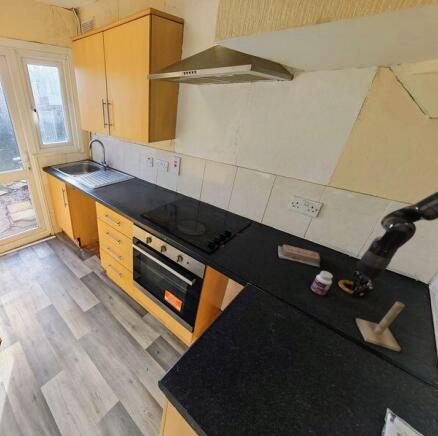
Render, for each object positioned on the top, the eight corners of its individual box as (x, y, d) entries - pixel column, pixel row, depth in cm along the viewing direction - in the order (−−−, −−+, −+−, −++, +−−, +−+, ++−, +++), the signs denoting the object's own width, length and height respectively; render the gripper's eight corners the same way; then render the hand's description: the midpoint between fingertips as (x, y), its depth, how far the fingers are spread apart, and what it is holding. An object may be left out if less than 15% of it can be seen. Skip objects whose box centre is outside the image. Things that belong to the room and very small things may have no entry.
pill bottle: (307, 288, 98) (316, 271, 93) (315, 285, 100) (324, 268, 95) (319, 297, 93) (329, 279, 89) (327, 294, 95) (338, 277, 91)
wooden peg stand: (384, 329, 81) (410, 298, 74) (398, 352, 74) (428, 320, 67) (354, 320, 84) (376, 289, 77) (364, 341, 76) (389, 309, 69)
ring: (358, 285, 101) (360, 282, 100) (366, 299, 94) (368, 296, 93) (334, 279, 104) (336, 276, 103) (341, 293, 96) (343, 289, 96)
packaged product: (319, 250, 116) (323, 260, 108) (315, 257, 119) (319, 268, 110) (280, 240, 123) (281, 250, 114) (277, 248, 125) (278, 257, 117)
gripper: (395, 276, 81) (371, 309, 89) (377, 255, 92) (357, 286, 100) (369, 270, 83) (348, 303, 91) (355, 250, 95) (337, 281, 103)
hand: (353, 294), depth 96 cm, fingers closed on ring, 2 cm apart
